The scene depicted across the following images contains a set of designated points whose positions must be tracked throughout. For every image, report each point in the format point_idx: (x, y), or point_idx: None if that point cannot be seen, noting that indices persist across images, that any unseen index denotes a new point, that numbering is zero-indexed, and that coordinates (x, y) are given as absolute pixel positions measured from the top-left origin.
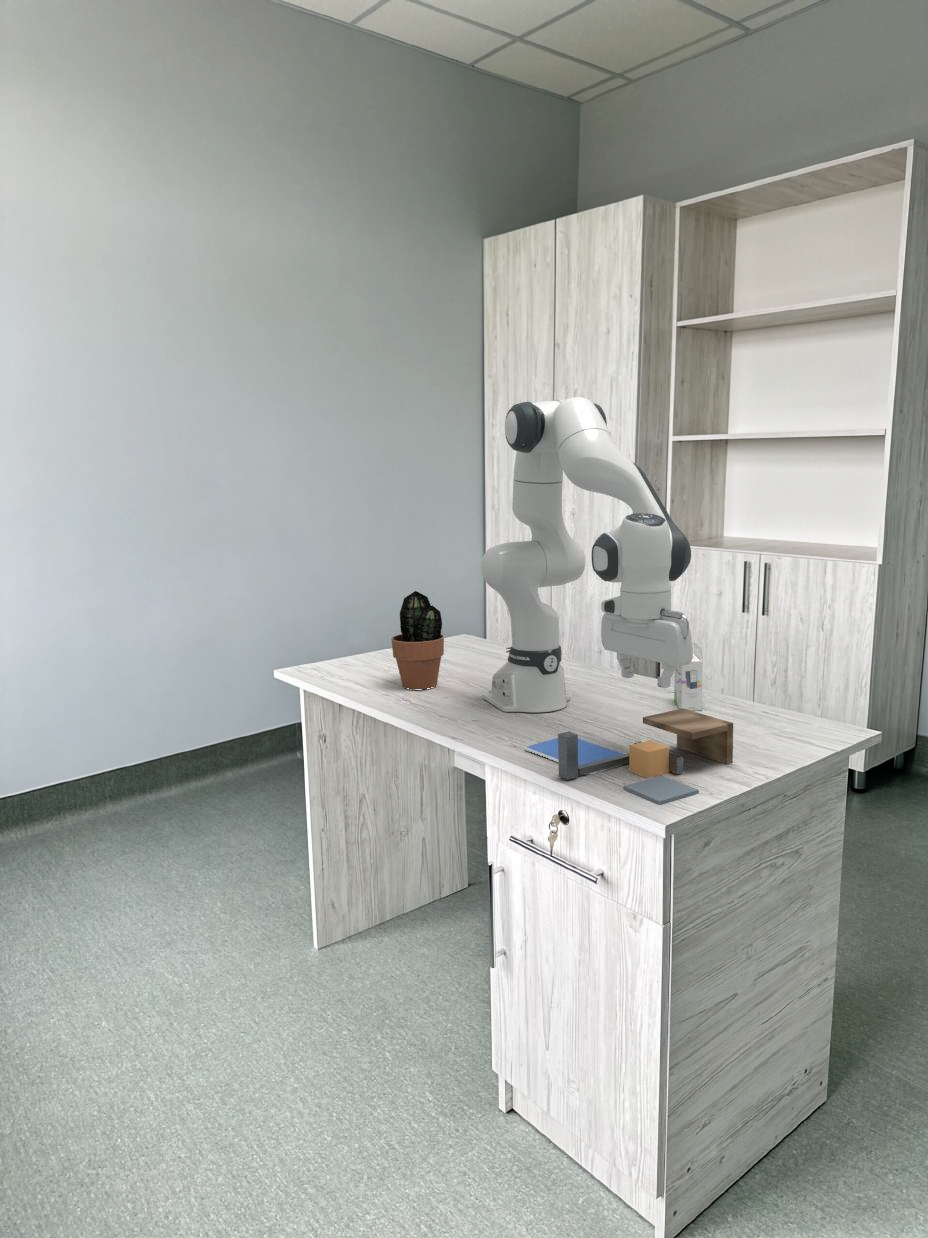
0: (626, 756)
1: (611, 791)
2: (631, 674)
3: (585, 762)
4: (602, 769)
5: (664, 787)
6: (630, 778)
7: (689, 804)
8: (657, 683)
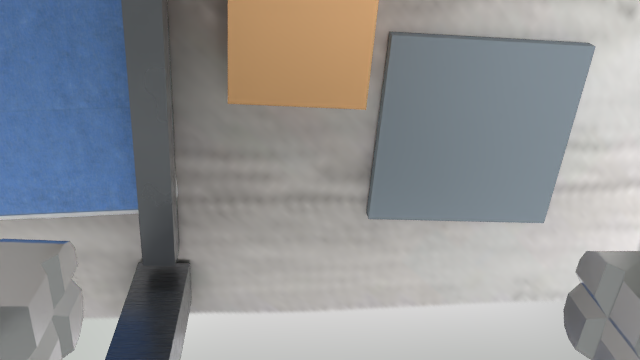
0: (158, 27)
1: (352, 249)
2: (65, 286)
3: (73, 161)
4: (173, 152)
5: (483, 126)
6: (303, 121)
7: (611, 145)
8: (578, 350)
